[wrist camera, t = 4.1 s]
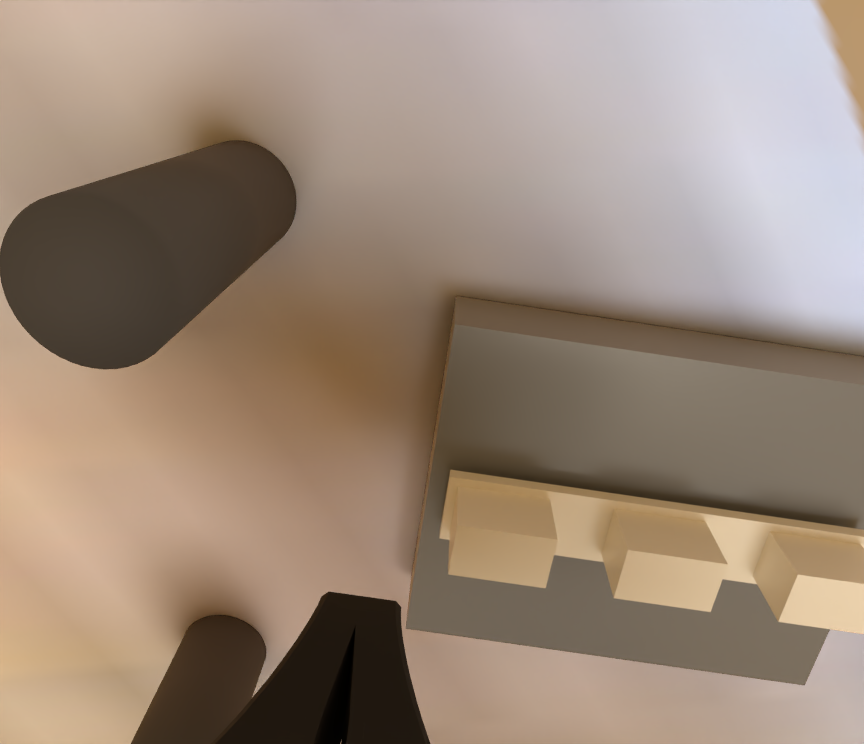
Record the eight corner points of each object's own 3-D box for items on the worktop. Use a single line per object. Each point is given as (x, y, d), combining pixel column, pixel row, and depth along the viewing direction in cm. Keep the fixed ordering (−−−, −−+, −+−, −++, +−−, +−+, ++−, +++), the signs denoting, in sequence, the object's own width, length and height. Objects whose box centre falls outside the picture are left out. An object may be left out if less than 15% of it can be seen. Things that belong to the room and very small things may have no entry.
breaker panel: (773, 628, 20) (804, 685, 18) (411, 576, 20) (405, 628, 18) (884, 359, 17) (935, 395, 15) (456, 296, 17) (455, 324, 15)
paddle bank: (840, 588, 17) (880, 644, 15) (439, 530, 16) (436, 581, 15) (866, 530, 16) (911, 581, 14) (450, 469, 16) (448, 515, 14)
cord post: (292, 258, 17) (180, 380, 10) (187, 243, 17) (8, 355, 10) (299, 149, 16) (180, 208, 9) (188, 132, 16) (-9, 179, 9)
